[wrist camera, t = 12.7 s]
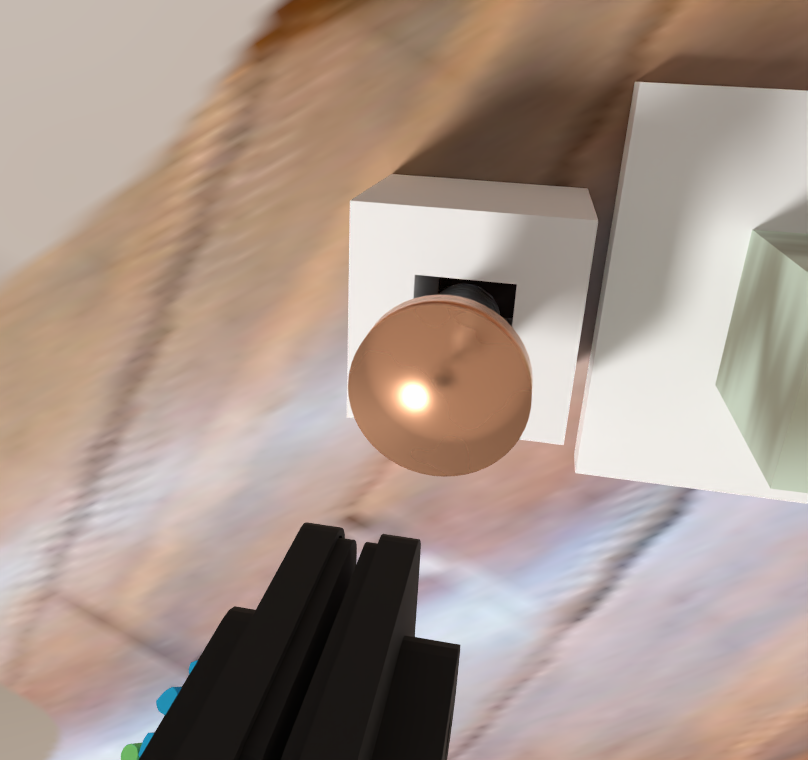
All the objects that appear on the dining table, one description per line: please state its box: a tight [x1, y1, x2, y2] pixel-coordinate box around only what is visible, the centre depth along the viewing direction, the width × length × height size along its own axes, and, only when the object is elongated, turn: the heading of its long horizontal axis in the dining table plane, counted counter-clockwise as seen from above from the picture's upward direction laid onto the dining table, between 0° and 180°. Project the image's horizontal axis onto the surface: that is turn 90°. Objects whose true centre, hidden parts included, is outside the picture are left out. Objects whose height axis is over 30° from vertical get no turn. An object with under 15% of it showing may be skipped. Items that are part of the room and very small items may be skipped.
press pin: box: [348, 283, 533, 476], centre depth 20 cm, size 4×4×6 cm
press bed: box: [347, 82, 808, 504], centre depth 23 cm, size 14×22×6 cm, turn 87°
